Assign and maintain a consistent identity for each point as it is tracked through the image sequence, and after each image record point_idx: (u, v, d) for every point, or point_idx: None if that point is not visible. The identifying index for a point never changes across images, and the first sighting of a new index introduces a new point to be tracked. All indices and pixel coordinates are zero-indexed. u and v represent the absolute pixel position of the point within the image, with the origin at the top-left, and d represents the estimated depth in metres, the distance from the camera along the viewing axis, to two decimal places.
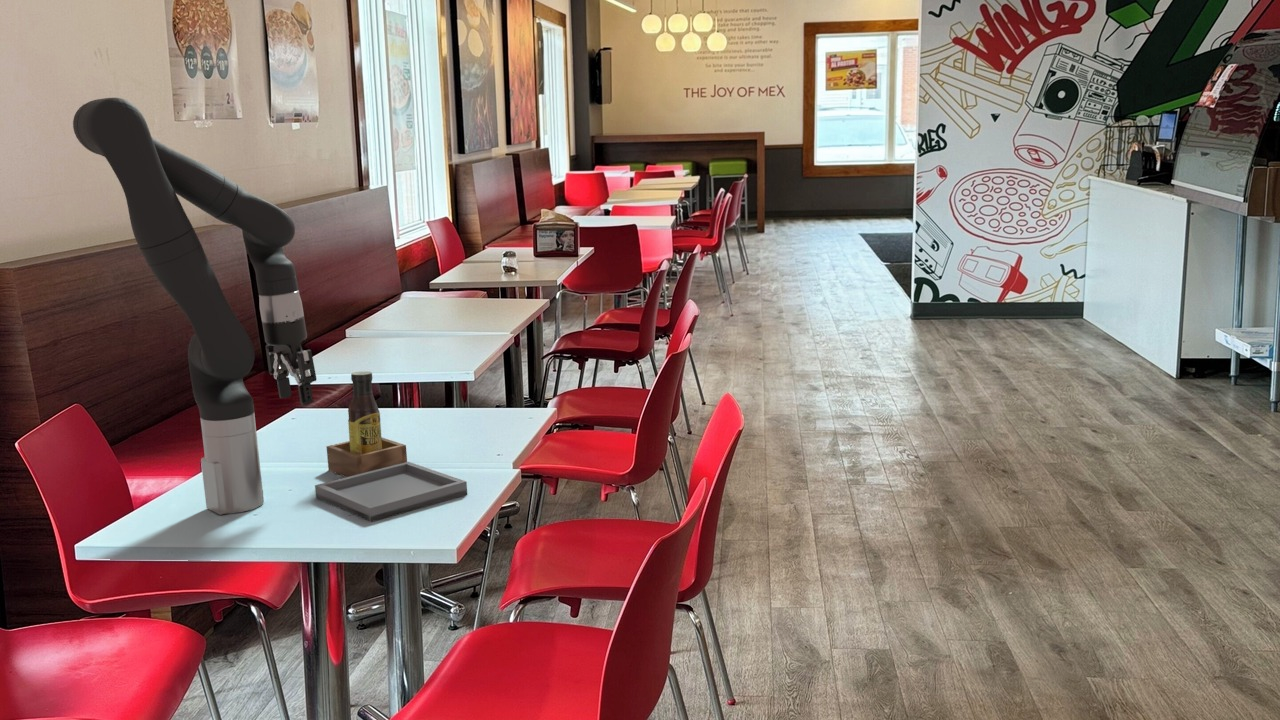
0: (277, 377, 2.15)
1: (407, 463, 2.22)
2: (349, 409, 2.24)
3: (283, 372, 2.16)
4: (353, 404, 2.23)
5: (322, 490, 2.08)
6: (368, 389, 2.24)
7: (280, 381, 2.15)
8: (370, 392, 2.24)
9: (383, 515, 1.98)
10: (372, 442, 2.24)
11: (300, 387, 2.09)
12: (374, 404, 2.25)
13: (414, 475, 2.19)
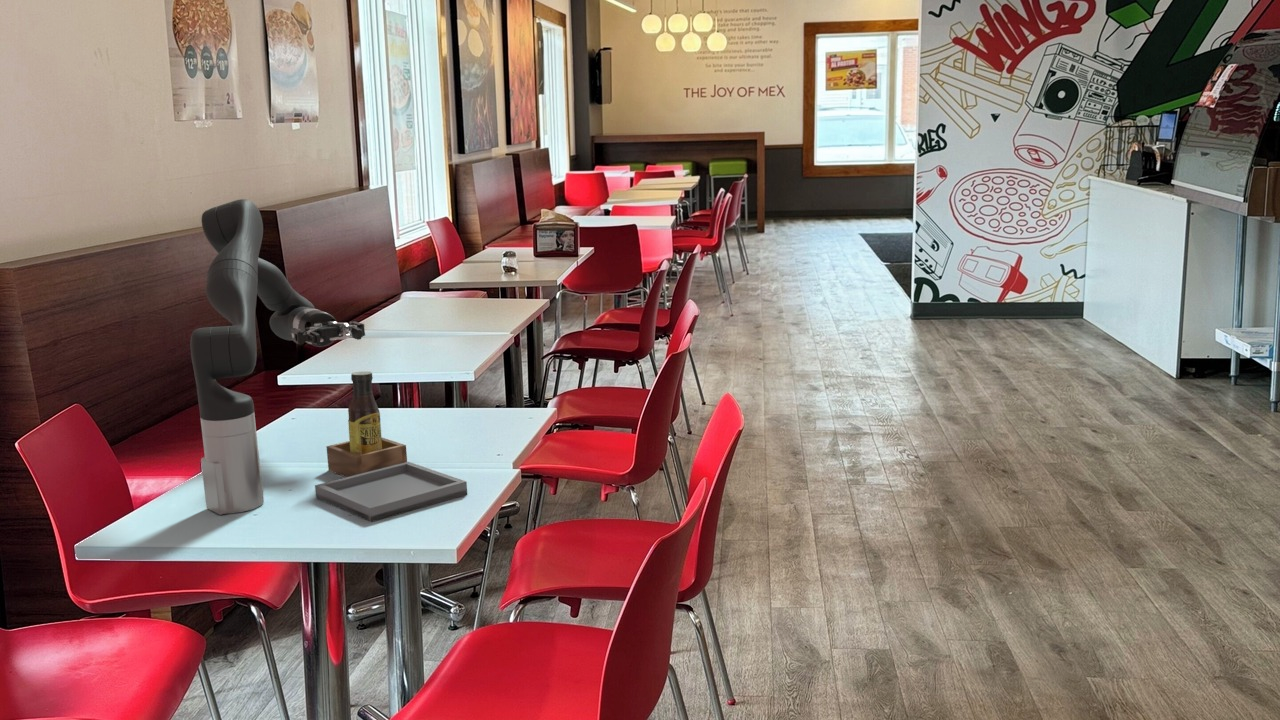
0: (312, 331, 2.33)
1: (407, 463, 2.22)
2: (349, 409, 2.24)
3: None
4: (353, 404, 2.23)
5: (322, 490, 2.08)
6: (368, 389, 2.24)
7: None
8: (370, 392, 2.24)
9: (383, 515, 1.98)
10: (372, 442, 2.24)
11: (354, 327, 2.37)
12: (374, 404, 2.25)
13: (414, 475, 2.19)
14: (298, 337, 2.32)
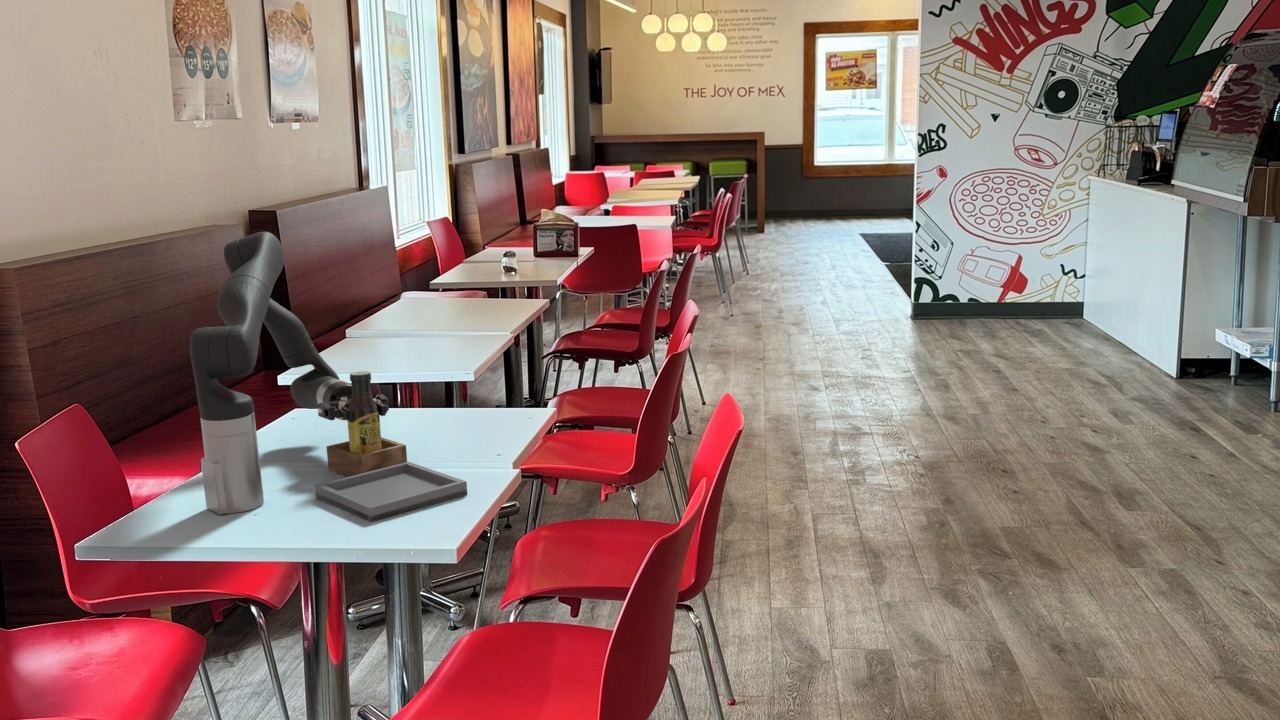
0: (344, 407, 2.25)
1: (407, 463, 2.22)
2: None
3: None
4: (352, 404, 2.23)
5: (322, 490, 2.08)
6: (367, 389, 2.24)
7: None
8: (369, 392, 2.24)
9: (383, 515, 1.98)
10: (372, 442, 2.24)
11: (378, 403, 2.28)
12: (373, 404, 2.24)
13: (414, 475, 2.19)
14: (330, 413, 2.24)
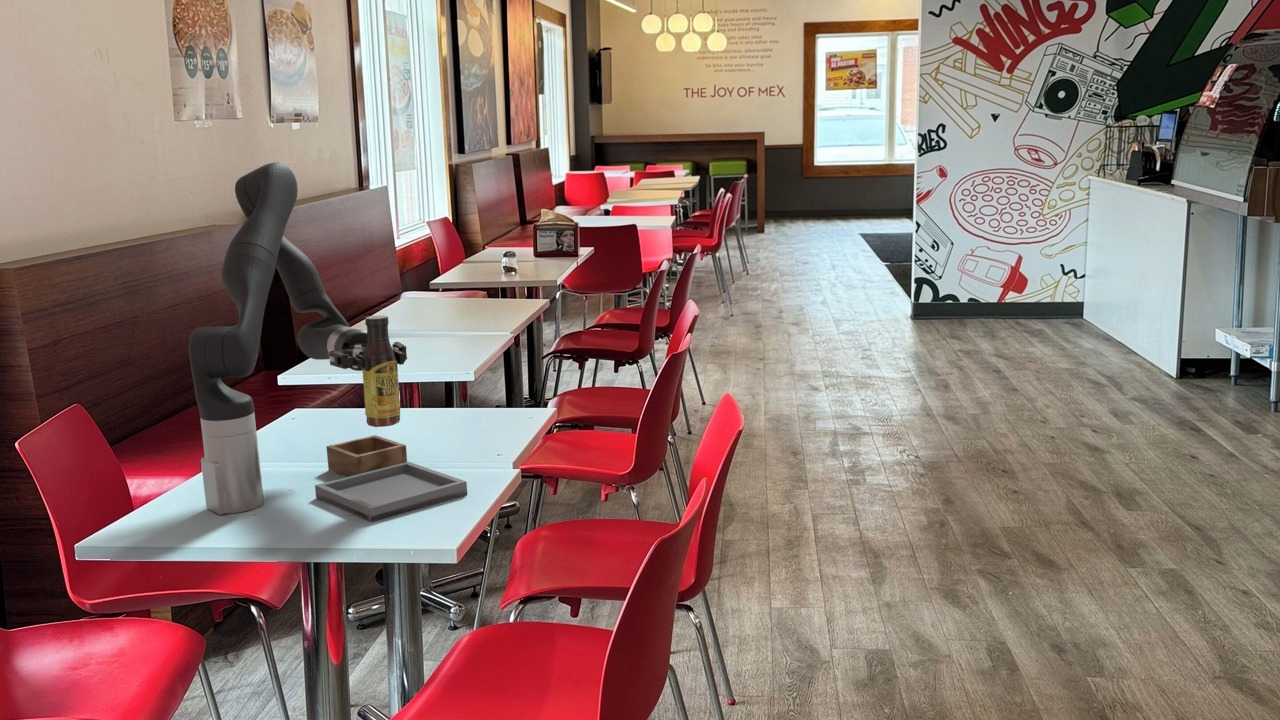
0: (358, 354, 2.05)
1: (407, 463, 2.22)
2: None
3: None
4: (368, 351, 2.03)
5: (322, 490, 2.08)
6: (384, 335, 2.04)
7: None
8: (386, 338, 2.04)
9: (383, 515, 1.98)
10: (389, 393, 2.05)
11: None
12: (391, 351, 2.05)
13: (414, 475, 2.19)
14: (343, 361, 2.04)
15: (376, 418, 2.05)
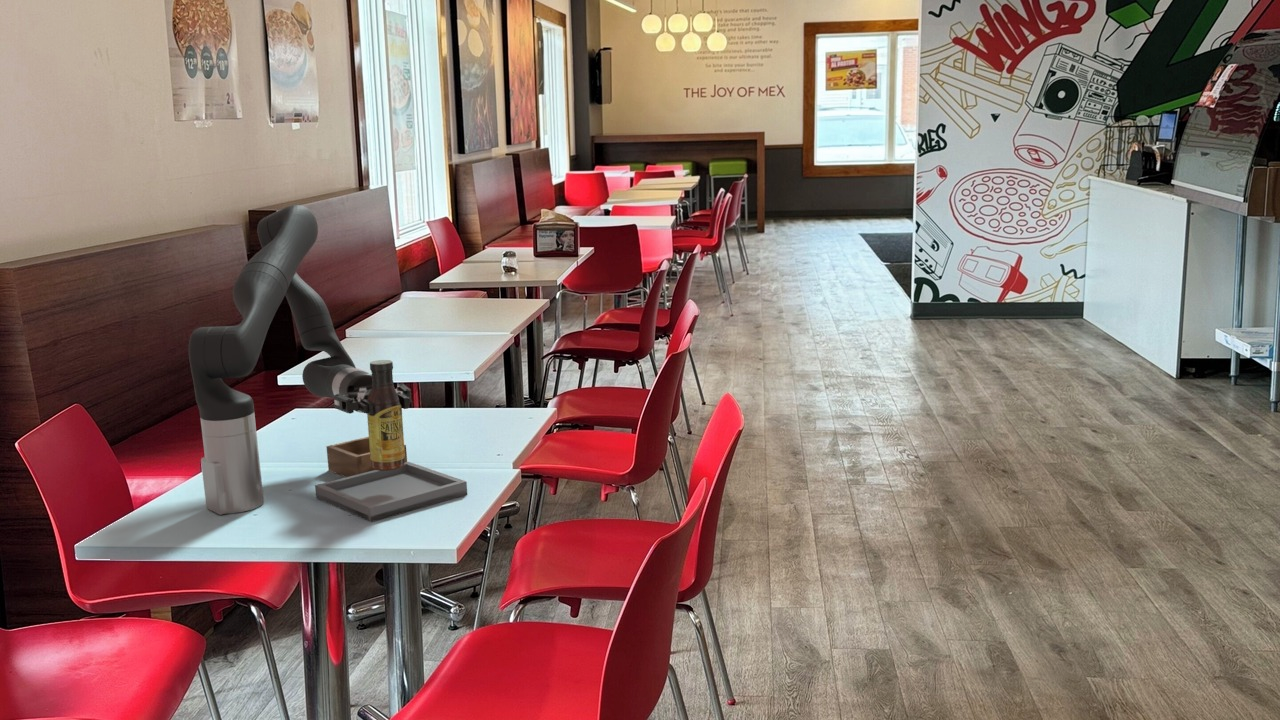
0: (363, 399, 2.06)
1: (407, 463, 2.22)
2: None
3: None
4: (372, 396, 2.04)
5: (322, 490, 2.08)
6: (389, 380, 2.05)
7: None
8: (391, 383, 2.05)
9: (383, 515, 1.98)
10: (394, 437, 2.06)
11: None
12: (395, 396, 2.06)
13: (414, 475, 2.19)
14: (348, 405, 2.06)
15: (380, 462, 2.06)
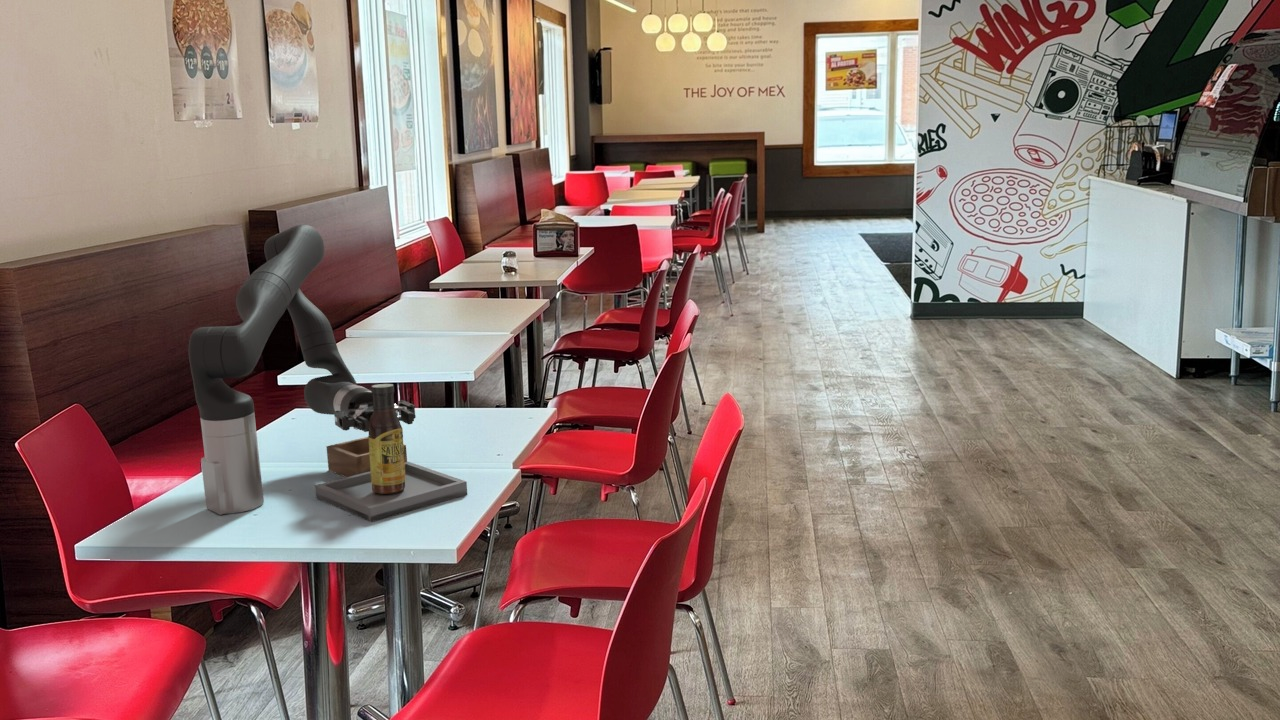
0: (359, 416, 2.07)
1: (407, 463, 2.22)
2: (369, 425, 2.07)
3: None
4: (374, 419, 2.06)
5: (322, 490, 2.08)
6: (390, 403, 2.06)
7: None
8: (392, 406, 2.07)
9: (383, 515, 1.98)
10: (395, 460, 2.07)
11: None
12: (396, 419, 2.07)
13: (414, 475, 2.19)
14: (343, 422, 2.06)
15: (381, 486, 2.07)
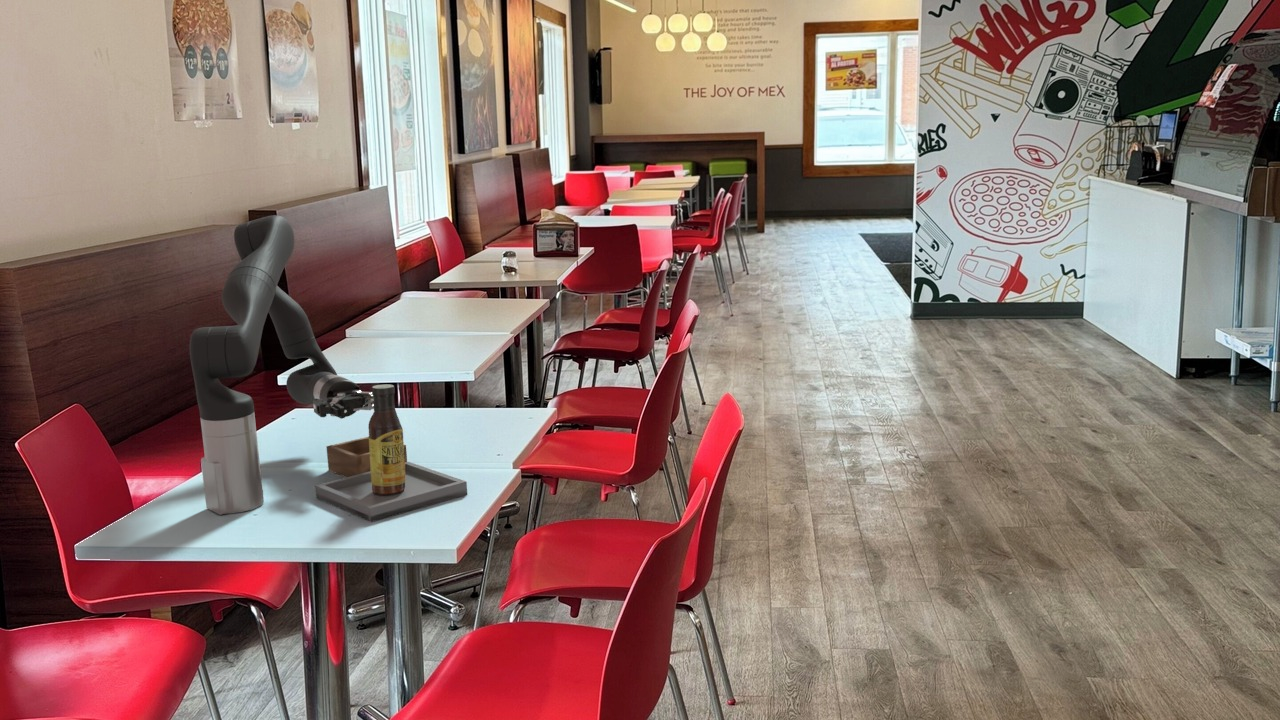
0: (335, 403, 2.17)
1: (407, 463, 2.22)
2: (370, 425, 2.06)
3: None
4: (374, 420, 2.06)
5: (322, 490, 2.08)
6: (390, 404, 2.06)
7: None
8: (392, 407, 2.06)
9: (383, 515, 1.98)
10: (395, 461, 2.06)
11: None
12: (397, 420, 2.07)
13: (414, 475, 2.19)
14: (320, 409, 2.17)
15: (381, 486, 2.07)
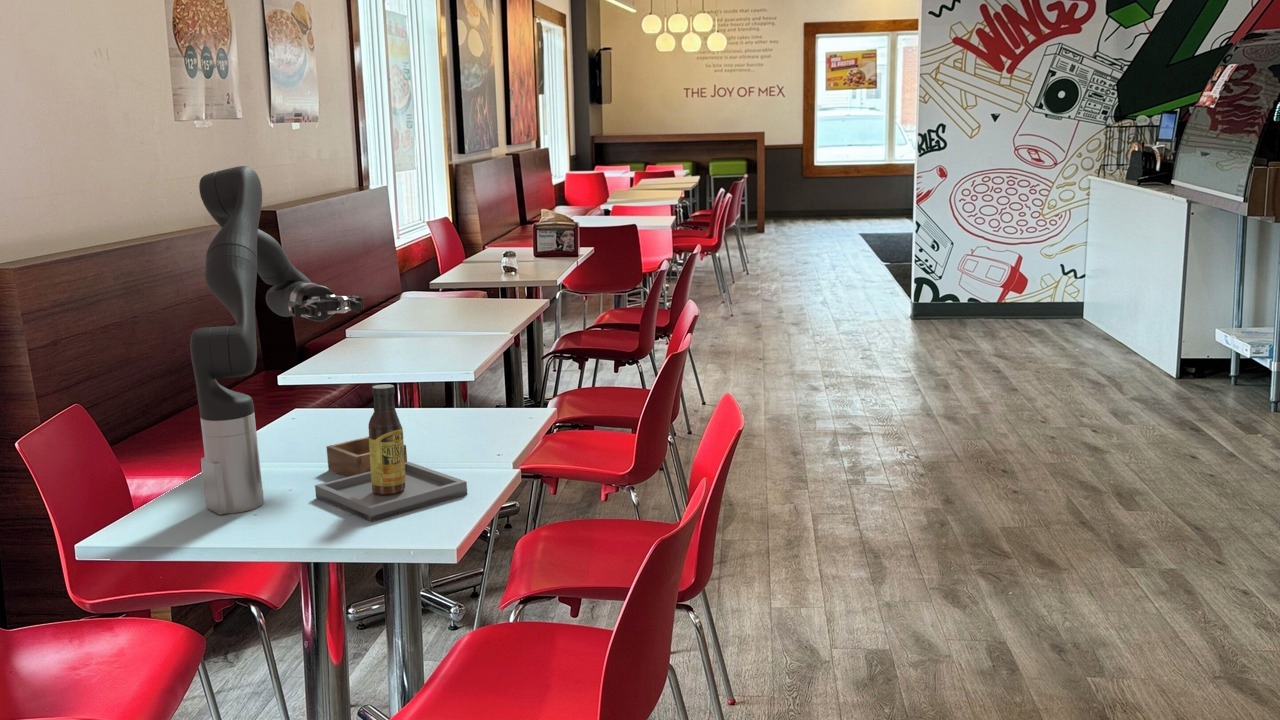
0: (309, 304, 2.27)
1: (407, 463, 2.22)
2: (370, 425, 2.06)
3: None
4: (374, 420, 2.06)
5: (322, 490, 2.08)
6: (390, 404, 2.06)
7: None
8: (392, 407, 2.06)
9: (383, 515, 1.98)
10: (395, 461, 2.06)
11: None
12: (397, 420, 2.07)
13: (414, 475, 2.19)
14: (295, 310, 2.26)
15: (381, 486, 2.07)
